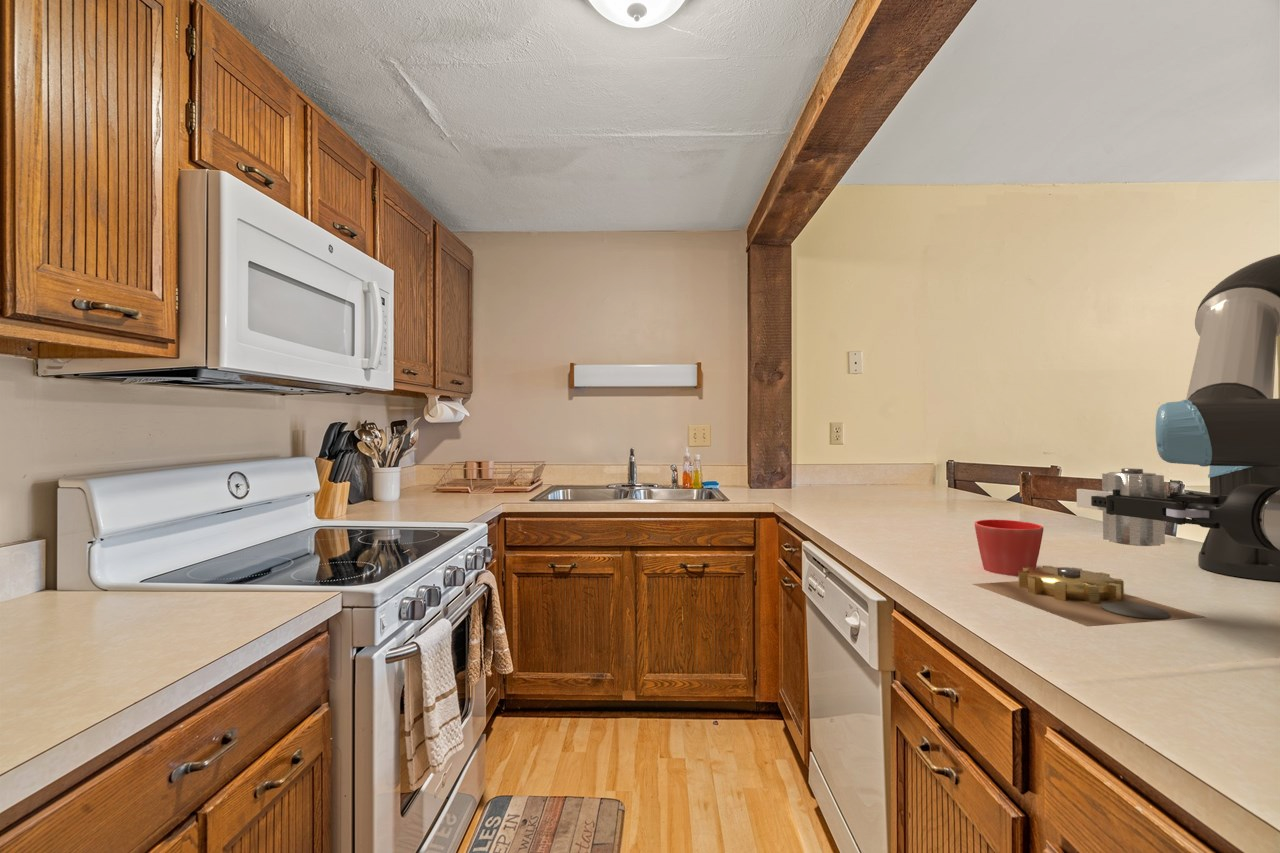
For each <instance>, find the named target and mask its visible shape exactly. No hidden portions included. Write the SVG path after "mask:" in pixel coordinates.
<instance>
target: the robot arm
mask: <svg viewBox="0 0 1280 853" xmlns="http://www.w3.org/2000/svg"><path fill="white" fill-rule="evenodd" d="M1194 329H1195V330H1196V333H1197V335H1198V336H1199V340H1198V341H1199V342H1198V344H1197V350H1196V355H1195V357H1194V363H1193V367H1192V371H1191V376H1190V379H1189V385H1188V389H1187V393H1186V397H1185V398H1186V399H1182V400H1179V401H1168V402H1166V403H1163V404H1161V405H1160V406H1159V407H1158V409H1157V410H1156V415H1155V443H1156V451H1157V453H1158V454H1157V455H1159V457H1160V459H1161V460H1163V461H1164V462H1166V463H1169V464H1179V465H1180V464H1181V465H1182V464H1183V465H1191V466H1192V465H1193V466H1195V465H1197V466H1200V467H1209V473H1208V475H1207V478H1209V494H1206V493H1197V492H1194V491H1188V492H1185V493H1181V492H1178V491H1173V492H1170V493H1169V495H1168V491H1164V498H1154V497H1141V496H1128V495H1122V493H1120V490H1119V489H1113V492H1105V491H1102V490H1094V489H1084V488H1077V489H1076V507H1077V508H1084V509H1088V510H1089V509H1090V510H1097V511H1102V512H1103V511H1106V513H1107V514H1109V515H1121V516H1129V517H1136V518H1144V519H1152V520H1159V521H1165V522H1167V523H1172V524H1175V525H1181V526H1182V525H1186V524H1187V525H1197V526H1200V527H1202V528H1206V529H1208V531H1207V534H1206V536H1205V538H1204V541H1203V543H1202V545H1201V548H1200V551H1199V552H1198V556H1197V559H1198V563H1197V565H1198V566H1199V568H1201V569H1203V570H1206V571H1210V572H1213V573H1217V574H1221V575H1226V576H1231V577H1239V578H1246V579H1253V580H1263V581H1272V582H1280V397H1279V398H1274V391H1275V390H1274V389H1275V376H1276V375H1275V373H1276V372H1275V371H1276V355H1277V340H1278V339H1277V338H1278V336H1279V335H1280V253H1279V254H1275V255H1271V256H1268V257H1264V258H1262V259H1260V260H1256V261H1255V262H1252V263H1250V264H1248V265H1246V266H1243V267H1242V268H1240V269H1238V270H1237V271H1235V272H1233V273H1231V274H1230V275H1228V276H1227V277H1225V278H1224V279H1223V280H1221V281H1220V282H1219V283H1217V285H1215V286H1214V287H1213V288H1212V289H1211V290H1210V291H1209V292H1208V293H1207V294H1206V295H1205V296H1204V297H1203V299H1201V301H1200V303H1199V305H1198V307H1197V310H1196V314H1195V317H1194Z"/></svg>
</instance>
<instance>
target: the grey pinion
mask: <svg viewBox="0 0 1280 853" xmlns="http://www.w3.org/2000/svg"><path fill="white" fill-rule="evenodd" d="M1120 470H1121V471H1111V472H1110V471H1109V472H1107V473H1101V478H1102V479H1101V483H1102V485H1101V486H1102V488H1101V489H1102V490H1101V491H1105V492H1113V489H1119V490H1120V493H1122V495H1128V496H1141V497H1154V498H1164V492H1165V476H1164V475H1163V474H1156V473H1153V472H1144V469H1143V468H1129V467H1127V468H1125V467H1123V468H1121V469H1120ZM1165 522H1166V521H1159V520H1152V519H1144V518H1136V517H1129V516H1121V515H1109V514H1107V513H1106V511H1102V539H1103V540H1108V542H1109V543H1110V542H1112V543H1115V544H1120V545H1126V546H1136V547H1137V546H1138V547H1157V546H1161V545H1166V537H1165V534H1166V532H1165V531H1166V530H1165V529H1166V528H1165Z"/></svg>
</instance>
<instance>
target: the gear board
mask: <svg viewBox="0 0 1280 853" xmlns="http://www.w3.org/2000/svg"><path fill="white" fill-rule="evenodd" d="M972 585H973V586H976V587H979V588H982V589H984V590H987V591H989V592H992V593H996V594H997V595H1001V596H1003V597H1006V598H1008V599H1011V600H1014V601H1017V602H1019V603H1022V604H1025V605H1027V606H1031V607H1034V608H1036V609H1039V610H1040V611H1041V610H1042V611H1044V612H1047V613H1050V614H1052V615H1055V616H1058V617H1059V618H1063V619H1066V620H1069V621H1071V622H1074V623H1076V624H1080V625H1083V626H1084V627H1095V626H1096V627H1097V626H1098V627H1099V626H1108V625H1110V626H1111V625H1124V624H1135V623H1136V624H1137V623H1150V622H1161V621H1162V622H1163V621H1164V622H1165V621H1176V620H1190V619H1203V618H1204V619H1205V618H1206V616H1203V615H1200V614H1196V613H1193V612H1190V611H1185V610H1182V609H1181V608H1180V609H1178V608H1175V607H1173V606H1169V605H1166V604H1162V603H1158V602H1155V601H1151V600H1147V599H1144V598H1140V597H1137V596H1134V595H1131V594H1128V593H1124V597H1121V601H1120V602H1112V601H1099V604H1096V603H1088V602H1086V601H1077V600H1068V599H1067V600H1066V601H1063V600H1056V599H1055V597H1051V596H1046V595H1042V594H1037V595H1035V594H1032V593H1029V592H1028V588H1021V587H1019V580H1017V581H1016V580H1015V581H1014V580H1013V581H999V582H998V581H997V582H983V583H972Z"/></svg>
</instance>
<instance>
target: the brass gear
mask: <svg viewBox="0 0 1280 853" xmlns="http://www.w3.org/2000/svg"><path fill="white" fill-rule="evenodd" d="M1017 577H1018V581H1019V587H1021V588H1028V592H1029V593H1032V594H1035V595H1037V594H1042V595H1046V596H1051V597H1055V599H1056V600H1063V601H1066V600H1067V599H1068V600H1077V601H1086V602H1088V603H1096V604H1099V601H1112V602H1120V601H1121V597H1124V594H1125V593H1124V592H1125V591H1124V590H1125V588H1124V587H1125V586H1124V583H1125V582H1124V580H1123V579H1121V578H1113V577H1111V574H1109V573H1106V572H1093V571H1088V570H1083V568H1079V567H1065V566H1064V567H1063V566H1062V567H1061V566H1060V567H1057V566H1056V567H1055V566H1053V565H1042V567H1040V566H1039V567H1036V568H1033V567H1023V571H1018V576H1017Z"/></svg>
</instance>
